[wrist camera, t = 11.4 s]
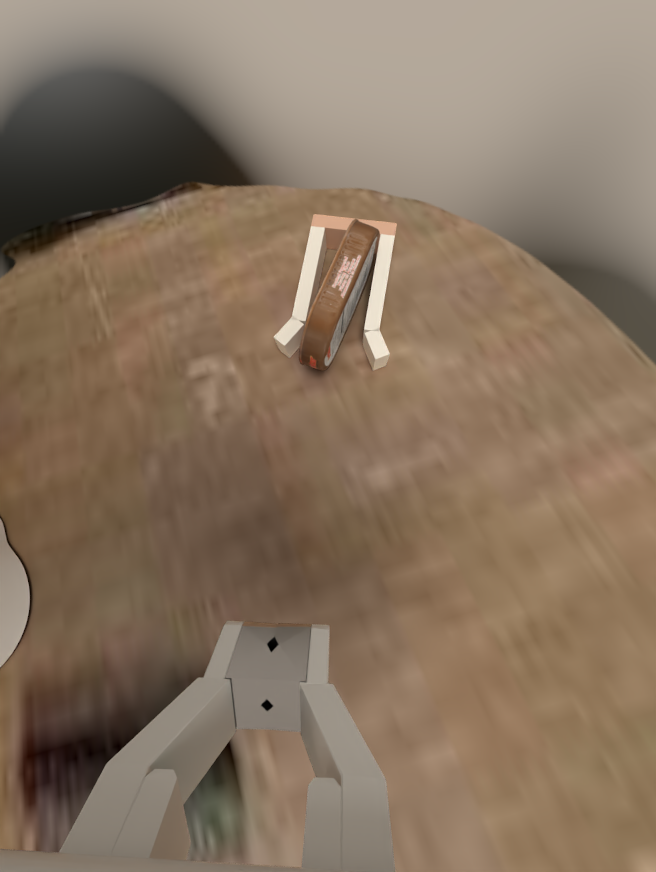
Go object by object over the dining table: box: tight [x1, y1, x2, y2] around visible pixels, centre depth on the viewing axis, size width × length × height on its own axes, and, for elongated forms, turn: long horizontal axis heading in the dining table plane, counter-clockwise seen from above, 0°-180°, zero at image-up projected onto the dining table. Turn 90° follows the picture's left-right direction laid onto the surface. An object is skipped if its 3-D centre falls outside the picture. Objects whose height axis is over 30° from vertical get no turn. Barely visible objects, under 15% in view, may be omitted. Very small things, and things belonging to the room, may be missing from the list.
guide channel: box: [274, 214, 397, 370], centre depth 35 cm, size 12×16×3 cm
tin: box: [299, 219, 380, 371], centre depth 32 cm, size 15×3×8 cm, turn 157°
